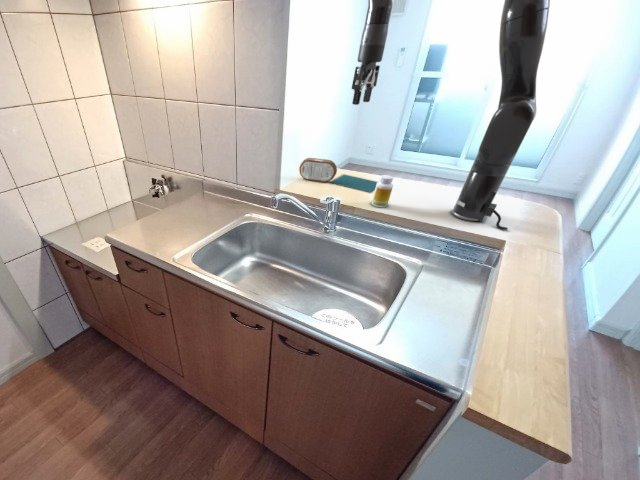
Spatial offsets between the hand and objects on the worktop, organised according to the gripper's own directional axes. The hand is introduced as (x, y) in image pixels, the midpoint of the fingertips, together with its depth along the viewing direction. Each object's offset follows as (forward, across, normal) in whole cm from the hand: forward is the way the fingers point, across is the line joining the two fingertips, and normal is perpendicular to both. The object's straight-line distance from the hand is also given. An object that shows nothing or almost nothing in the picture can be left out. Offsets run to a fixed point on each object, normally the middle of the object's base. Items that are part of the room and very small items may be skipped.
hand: (360, 103), depth 111 cm
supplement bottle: (+29, -10, -18) cm, 35 cm away
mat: (+29, +6, -2) cm, 29 cm away
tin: (+29, -2, +12) cm, 31 cm away
